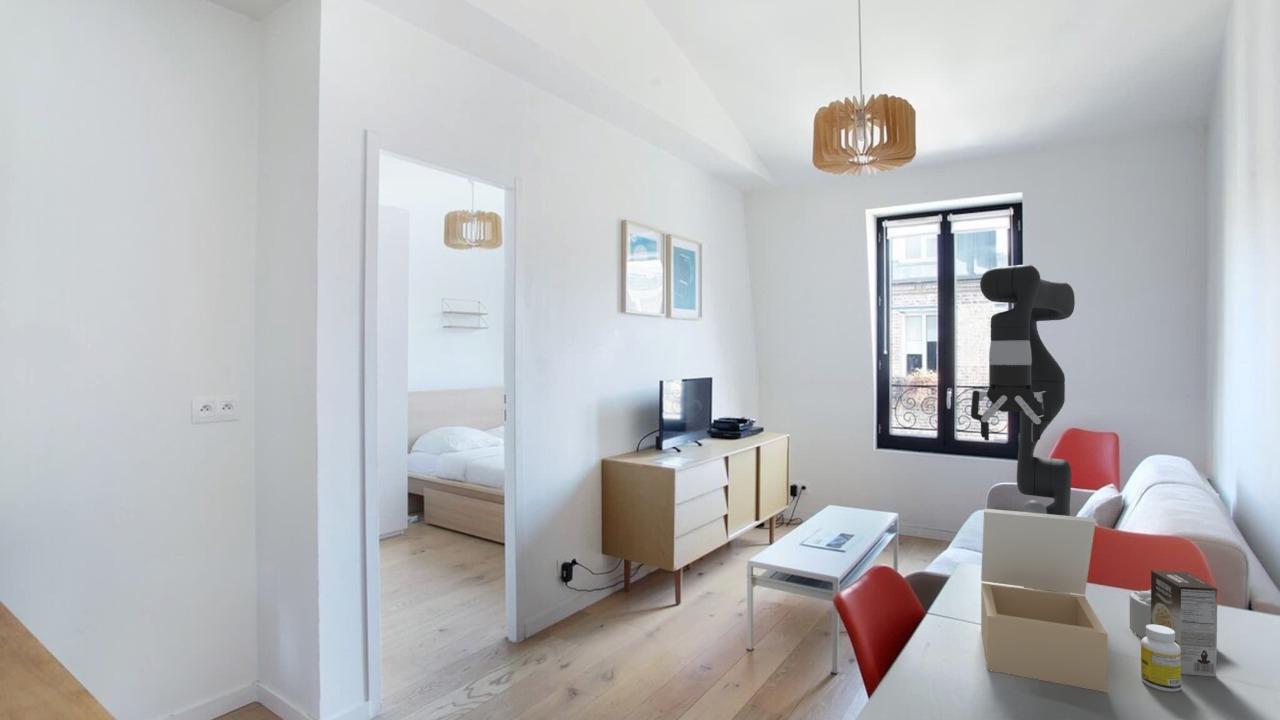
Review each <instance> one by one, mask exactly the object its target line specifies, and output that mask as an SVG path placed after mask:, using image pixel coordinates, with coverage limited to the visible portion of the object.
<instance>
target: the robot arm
mask: <svg viewBox="0 0 1280 720" xmlns="http://www.w3.org/2000/svg"><path fill="white" fill-rule="evenodd" d="M979 286H980V287H979V289H980V291H981V294H982V295H983V296H984V297H985V299H987V300H988V301H990V302H994V303H1006V304H1007V303H1008V304H1014V307H1012V308H1011V309H1009V310H1005V311H1001V312H996V313H994V314H993V315H992V316H991V318H990V343H989V344H990V345H989V346H990V347H989V351H988V352H989V353H988V362H989V364H988V369H989V370H988V371H989V372H988V374H989V375H988V378H989V379H988V381H989V384H988V389H987V391H984V390H983V391H982V390H977V389H974V390H973V391H972V394H971V404H970V405H971V407H970V408H971V410H970V417H971V419H973V420H976V421H979V422H980V435H981V437H982V438H984V441H987V442H988V441H990V423H989V420H990V419H991V417H992V416H993V415H995V414H996V413H997V411H999V412H1001V413H1007V412H1013V413H1019V437H1018V439H1019V440H1018V451H1017V452H1018V453H1017V464H1016V466H1017V467H1016V486H1017V490H1018V491H1019V493H1020V494H1022V495H1025V496H1032V497H1041V498H1049V499H1050V498H1051V499H1053V502H1051V503H1050V504H1048V505H1046V506H1045V505H1044V506H1045V508H1046V511H1047V513H1046V514H1052V515H1063V516H1071V508H1070V507H1071V491H1072V478H1073V477H1072V467H1071V465H1070V463H1069V461H1068V460H1066V459H1062V458H1055V457H1053V458H1051V457H1039V456H1034V452H1035V449H1036V446H1037V443H1038V441H1039V440H1041V436H1042V435H1043V433H1044V432H1045V430H1046V428H1048V427H1049V426H1050V424H1051V423H1052V422H1053V420H1055V418H1057V416H1058V414H1059V412H1060V411H1062V409H1063V406H1064V404H1065V402H1066V397H1065V396H1066V382H1065V381H1066V377H1065V373H1064V371H1063V369H1062V367H1061V366H1060V364H1059V363H1058V362H1057V361H1056V359H1055V358H1054V357H1053V355H1052V354H1051V353H1050V352H1049V350H1048V349H1047V347H1046V346H1045V344H1044V343H1043V341H1042V339H1041V337H1040V333H1039V331H1038V324H1037V323H1038V322H1045V321H1047V322H1049V321H1061V320H1065V319H1068V318H1070V317H1071V316H1072V314H1073V313H1074V310H1075V302H1076V301H1075V299H1076V298H1075V293H1074V292H1075V291H1074V290H1073V287H1072V286H1071V285H1070V284H1069V283H1068V282H1064V281H1049V280H1045V279H1041V274H1040V272H1039V270H1038V269H1037V268H1036V266H1034V265H1032V264H1018V265H1007V266H998V267H992V268H989V269H988V270H986V271H985V272H984V273H983V275H982V276H981V278H980V283H979ZM985 397H987V399H988V400H989V401H990V402H991V404H990V405H989V406H988V407H987V408H986V411H984V413H983V414H980V413H979V406H980V402H982V401H983V400H984V398H985ZM1023 588H1029V587H1023ZM1029 589H1037V588H1029ZM1037 590H1044V591H1052V590H1045V589H1037ZM1052 592H1059V593H1067V594H1071V593H1068V592H1060V591H1052Z"/></svg>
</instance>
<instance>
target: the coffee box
mask: <svg viewBox="0 0 1280 720" xmlns="http://www.w3.org/2000/svg"><path fill="white" fill-rule="evenodd" d="M1150 590H1151V624H1155V625H1161V626H1165V627H1168V628H1170V629H1172V630H1174V631H1175V641H1174V642H1175V643H1176V644H1178V646H1179V647H1180V650H1181V675H1188V676H1189V675H1191V676H1202V677H1211V678H1212V677H1213V678H1214V677H1215V678H1217V657H1218V655H1217V654H1218V653H1217V645H1218V644H1217V643H1218V641H1217V639H1218V638H1217V637H1218V636H1217V635H1218V588H1216V587H1215V586H1213V585H1211V584H1209V583H1207V582H1206V581H1204V580H1203V579H1200V578H1198V577H1197V576H1195V575H1193V574H1192V573H1189V572H1188V571H1175V570H1174V571H1172V570H1153V569H1152V570H1150Z"/></svg>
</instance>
